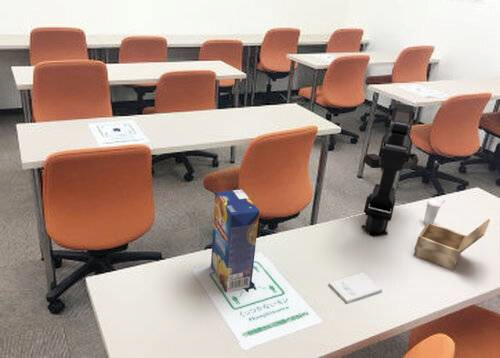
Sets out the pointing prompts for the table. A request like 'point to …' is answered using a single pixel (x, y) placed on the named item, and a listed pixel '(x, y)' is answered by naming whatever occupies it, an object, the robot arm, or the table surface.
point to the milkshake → (431, 211)
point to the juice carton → (234, 239)
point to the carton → (439, 245)
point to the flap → (475, 235)
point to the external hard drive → (355, 287)
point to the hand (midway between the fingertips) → (385, 181)
